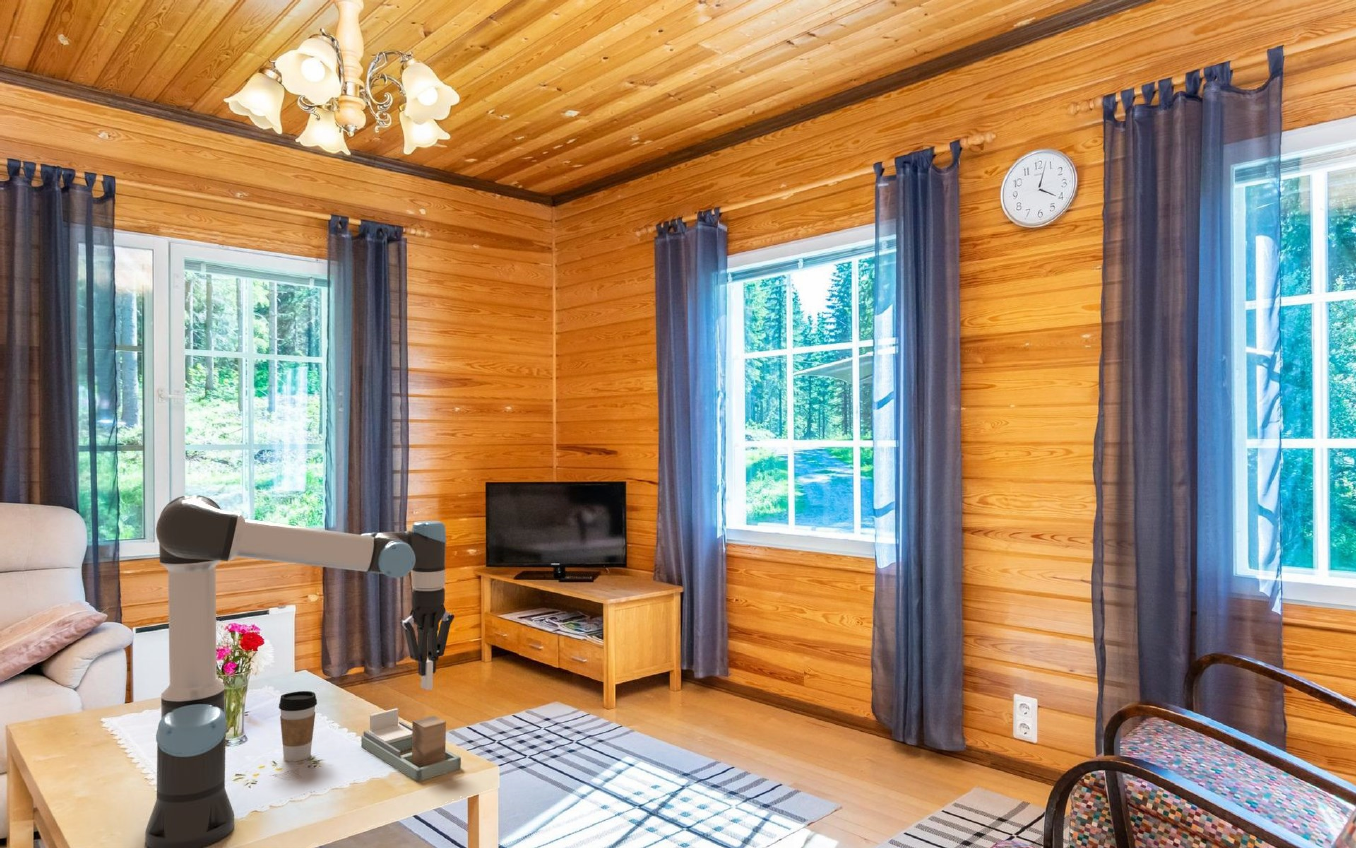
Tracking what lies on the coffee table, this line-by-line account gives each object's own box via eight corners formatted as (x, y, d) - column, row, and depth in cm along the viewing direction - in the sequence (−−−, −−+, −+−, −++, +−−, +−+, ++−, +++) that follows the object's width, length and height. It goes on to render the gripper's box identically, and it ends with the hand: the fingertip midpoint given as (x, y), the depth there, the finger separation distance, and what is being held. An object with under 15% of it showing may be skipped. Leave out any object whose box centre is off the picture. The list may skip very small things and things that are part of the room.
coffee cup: (269, 759, 205) (270, 696, 205) (300, 747, 212) (301, 686, 212) (293, 766, 201) (294, 702, 201) (324, 754, 208) (325, 692, 208)
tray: (460, 768, 202) (460, 752, 202) (417, 781, 194) (417, 765, 194) (402, 735, 222) (403, 721, 222) (361, 746, 214) (361, 731, 214)
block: (445, 768, 201) (445, 721, 201) (423, 775, 198) (424, 727, 197) (433, 761, 205) (433, 715, 205) (411, 768, 201) (412, 721, 201)
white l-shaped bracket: (415, 736, 214) (415, 717, 214) (384, 744, 208) (385, 724, 208) (398, 726, 220) (398, 707, 220) (367, 734, 215) (368, 715, 215)
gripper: (444, 581, 209) (443, 679, 210) (394, 588, 200) (392, 690, 200) (461, 586, 204) (459, 686, 204) (410, 594, 195) (408, 698, 195)
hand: (426, 688), depth 202 cm, fingers closed
